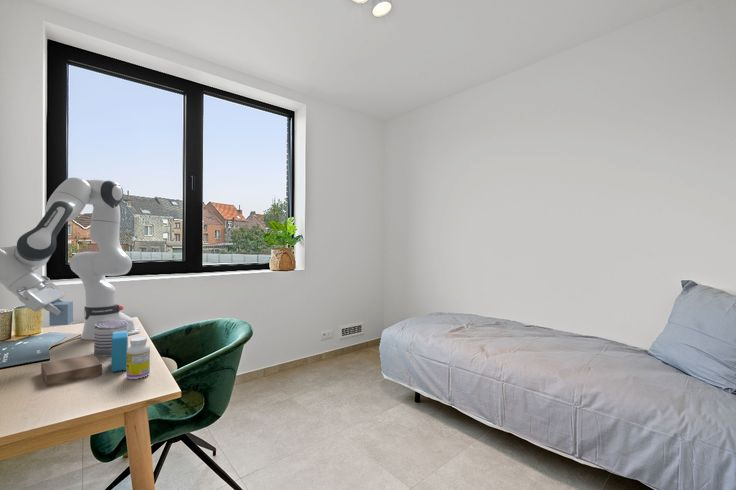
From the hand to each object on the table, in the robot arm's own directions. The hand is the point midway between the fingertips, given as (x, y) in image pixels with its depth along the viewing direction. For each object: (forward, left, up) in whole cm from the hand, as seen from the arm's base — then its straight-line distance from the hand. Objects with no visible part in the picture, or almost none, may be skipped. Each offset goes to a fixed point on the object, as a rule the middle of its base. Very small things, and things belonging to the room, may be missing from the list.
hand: (63, 311), depth 129 cm
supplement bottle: (-15, +33, -19) cm, 41 cm away
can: (-15, -2, -19) cm, 25 cm away
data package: (-13, +19, -19) cm, 30 cm away
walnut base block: (0, +16, -19) cm, 25 cm away
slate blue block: (0, 0, -4) cm, 4 cm away
